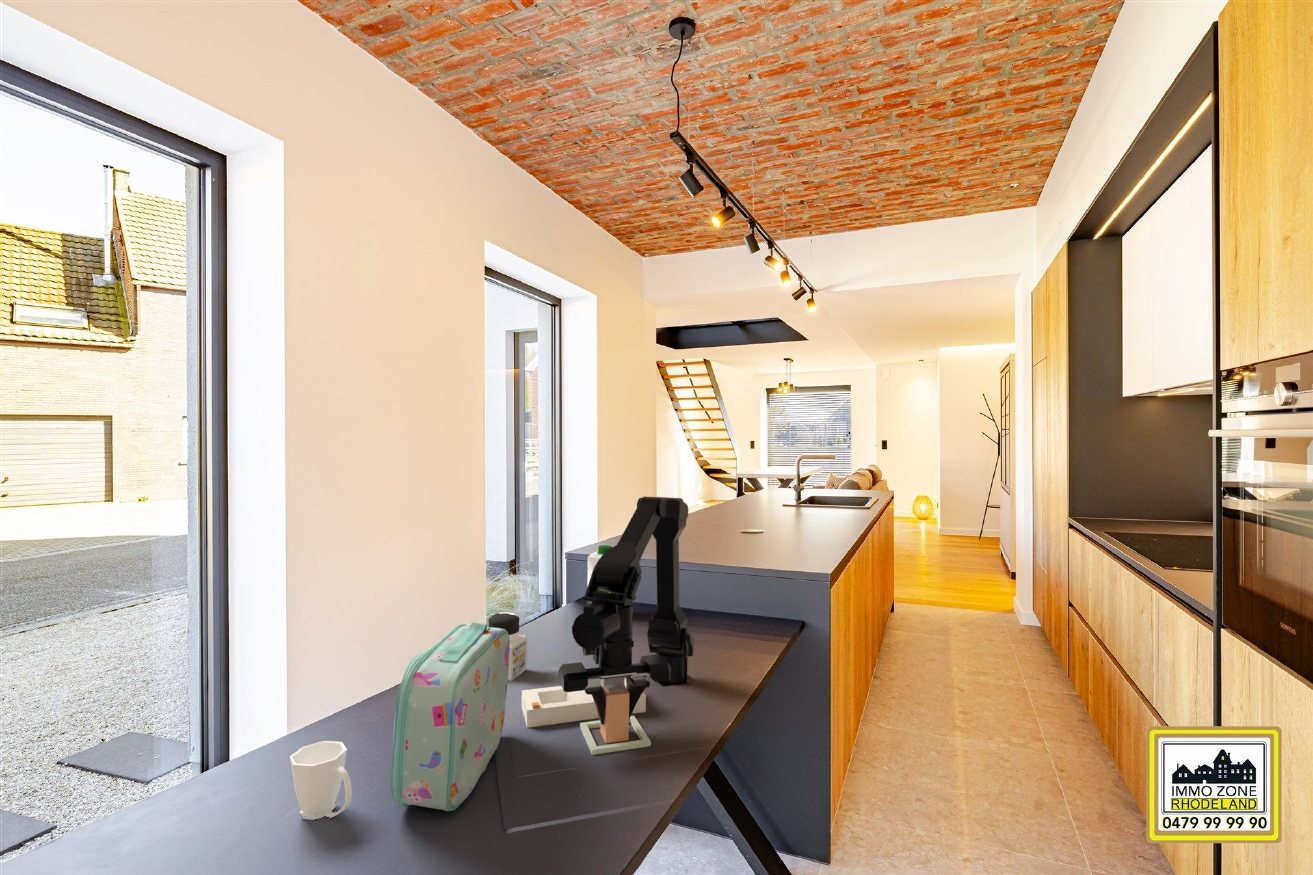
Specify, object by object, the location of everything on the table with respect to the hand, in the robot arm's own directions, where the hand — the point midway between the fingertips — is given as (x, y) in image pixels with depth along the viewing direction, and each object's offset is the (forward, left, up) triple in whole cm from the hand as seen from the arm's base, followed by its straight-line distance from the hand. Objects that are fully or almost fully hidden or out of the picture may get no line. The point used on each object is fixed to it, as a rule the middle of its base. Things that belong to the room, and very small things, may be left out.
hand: (614, 721), depth 106 cm
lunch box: (+26, +3, -3) cm, 26 cm away
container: (+16, -35, -3) cm, 39 cm away
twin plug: (-2, -12, -2) cm, 12 cm away
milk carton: (-15, -72, -3) cm, 74 cm away
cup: (+43, +9, -3) cm, 44 cm away
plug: (0, 0, -2) cm, 2 cm away
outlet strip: (+3, -12, -3) cm, 13 cm away
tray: (0, 0, -3) cm, 3 cm away
